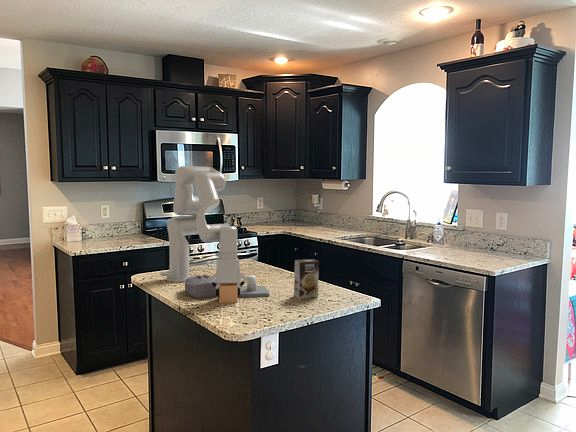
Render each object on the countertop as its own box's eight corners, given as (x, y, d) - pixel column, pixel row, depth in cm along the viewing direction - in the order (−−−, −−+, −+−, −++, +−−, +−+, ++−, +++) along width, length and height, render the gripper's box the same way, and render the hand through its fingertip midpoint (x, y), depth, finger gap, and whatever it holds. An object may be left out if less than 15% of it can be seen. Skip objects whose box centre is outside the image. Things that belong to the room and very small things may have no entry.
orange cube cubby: (219, 302, 196) (219, 286, 195) (218, 298, 203) (218, 282, 202) (237, 302, 197) (237, 285, 196) (236, 297, 204) (236, 281, 204)
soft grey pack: (224, 297, 206) (211, 287, 224) (224, 278, 205) (211, 269, 223) (190, 300, 199) (179, 290, 217) (190, 281, 198) (179, 272, 216)
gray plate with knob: (236, 297, 205) (237, 280, 204) (234, 289, 218) (234, 273, 218) (269, 296, 207) (269, 279, 206) (265, 288, 221) (265, 272, 220)
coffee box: (299, 299, 203) (300, 262, 202) (293, 295, 209) (294, 259, 208) (318, 297, 207) (319, 260, 205) (312, 294, 213) (312, 258, 211)
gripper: (207, 257, 193) (207, 300, 195) (249, 256, 196) (249, 298, 198) (207, 254, 200) (207, 295, 202) (248, 253, 204) (247, 294, 205)
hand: (228, 297), depth 200 cm, fingers closed on orange cube cubby, 7 cm apart
